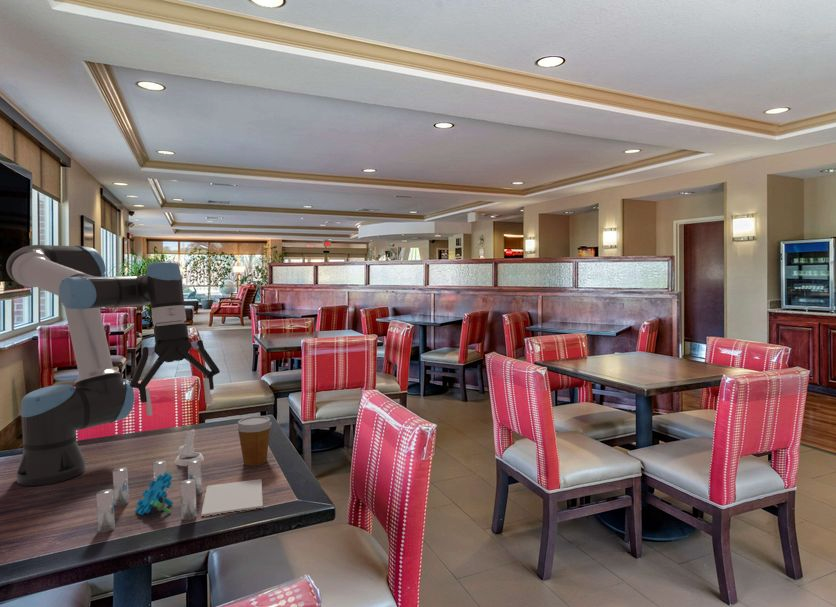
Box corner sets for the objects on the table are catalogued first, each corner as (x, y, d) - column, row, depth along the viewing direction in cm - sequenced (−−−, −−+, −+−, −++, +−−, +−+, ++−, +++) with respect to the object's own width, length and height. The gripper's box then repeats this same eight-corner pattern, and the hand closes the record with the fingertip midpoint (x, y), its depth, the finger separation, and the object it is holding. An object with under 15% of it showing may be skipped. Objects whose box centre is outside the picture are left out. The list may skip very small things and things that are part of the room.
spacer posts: (96, 533, 106) (94, 496, 106) (118, 497, 123) (116, 465, 123) (195, 519, 112) (194, 483, 112) (203, 487, 129) (202, 456, 129)
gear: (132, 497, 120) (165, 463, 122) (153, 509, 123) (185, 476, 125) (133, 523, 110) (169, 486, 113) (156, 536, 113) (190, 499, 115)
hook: (190, 453, 139) (174, 437, 141) (183, 480, 145) (168, 464, 147) (214, 440, 145) (198, 424, 147) (206, 466, 151) (190, 450, 153)
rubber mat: (201, 516, 113) (201, 514, 113) (207, 488, 129) (207, 485, 129) (262, 508, 117) (262, 505, 117) (261, 481, 133) (261, 479, 133)
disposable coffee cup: (244, 455, 151) (243, 415, 151) (276, 455, 151) (275, 415, 150) (232, 468, 142) (230, 425, 141) (266, 468, 141) (265, 425, 141)
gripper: (114, 329, 117) (124, 422, 117) (225, 317, 132) (235, 399, 132) (110, 331, 123) (120, 419, 123) (217, 319, 138) (227, 398, 138)
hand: (180, 409), depth 127 cm, fingers open, 13 cm apart
